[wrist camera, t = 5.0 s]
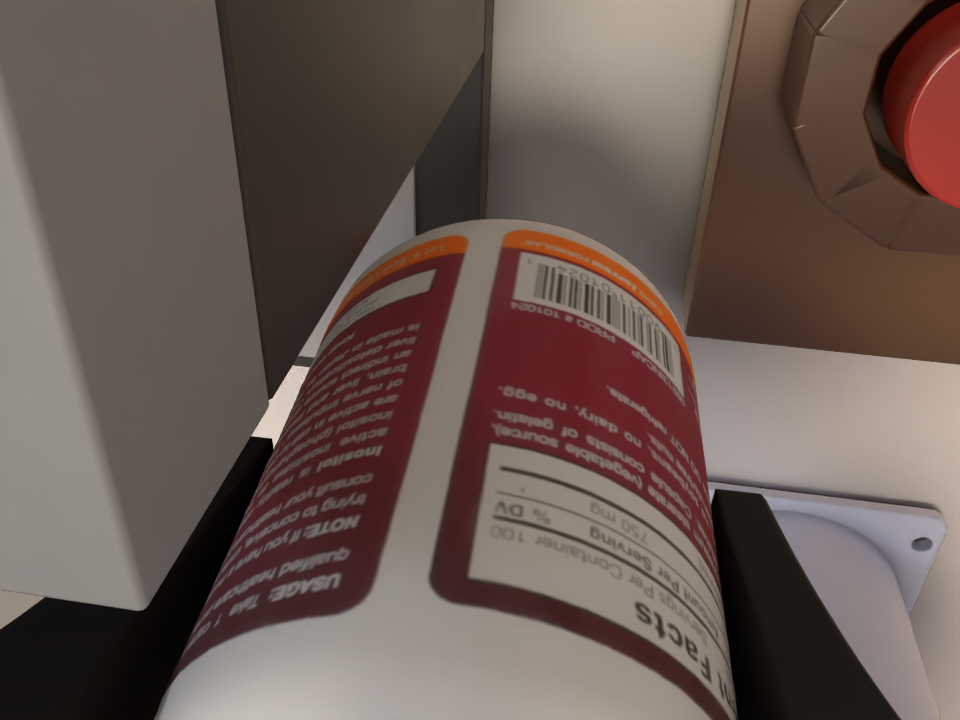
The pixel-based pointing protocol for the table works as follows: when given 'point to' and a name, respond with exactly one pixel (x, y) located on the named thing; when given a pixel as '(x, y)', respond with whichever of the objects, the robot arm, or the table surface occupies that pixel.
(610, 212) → the table surface
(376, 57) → the coffee maker
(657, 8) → the table surface
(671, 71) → the table surface
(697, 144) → the table surface
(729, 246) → the control box
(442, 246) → the pill bottle
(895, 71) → the button
